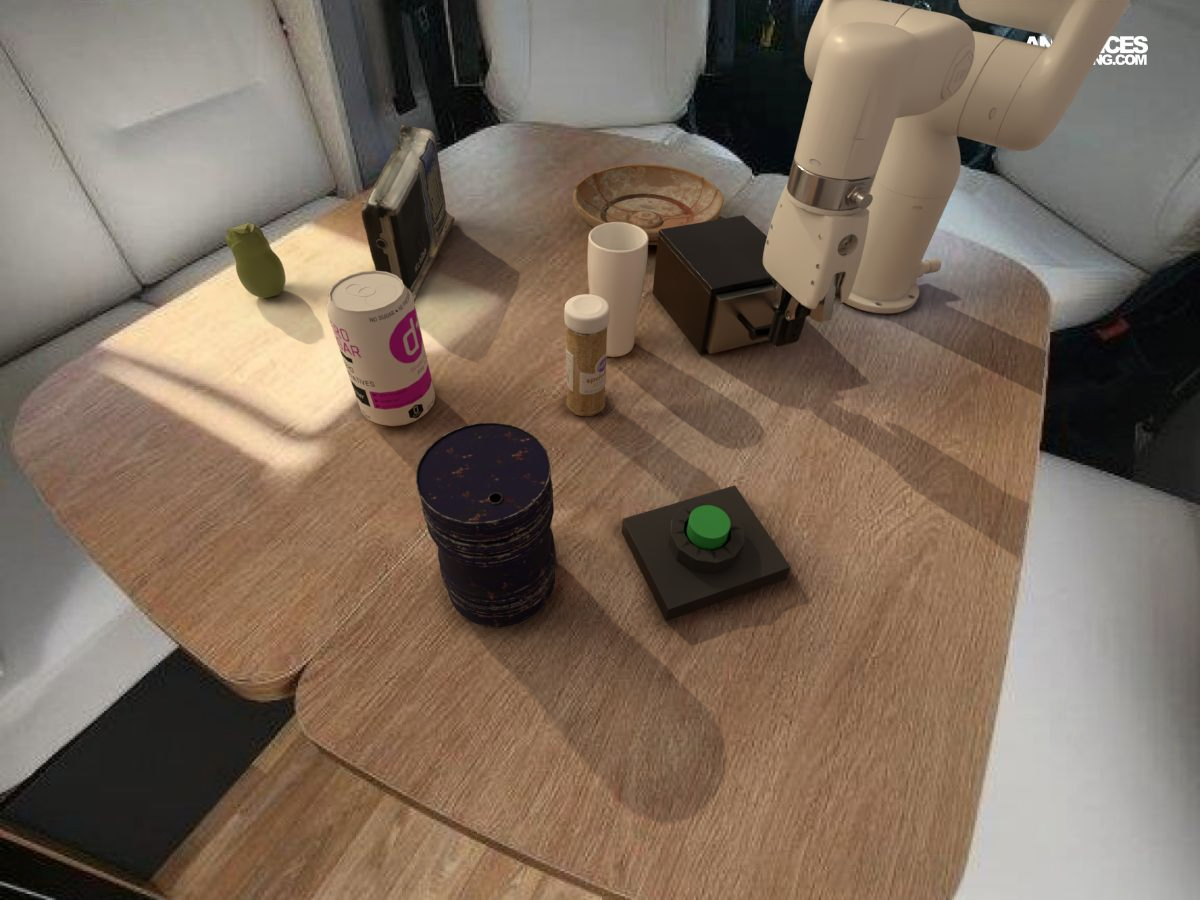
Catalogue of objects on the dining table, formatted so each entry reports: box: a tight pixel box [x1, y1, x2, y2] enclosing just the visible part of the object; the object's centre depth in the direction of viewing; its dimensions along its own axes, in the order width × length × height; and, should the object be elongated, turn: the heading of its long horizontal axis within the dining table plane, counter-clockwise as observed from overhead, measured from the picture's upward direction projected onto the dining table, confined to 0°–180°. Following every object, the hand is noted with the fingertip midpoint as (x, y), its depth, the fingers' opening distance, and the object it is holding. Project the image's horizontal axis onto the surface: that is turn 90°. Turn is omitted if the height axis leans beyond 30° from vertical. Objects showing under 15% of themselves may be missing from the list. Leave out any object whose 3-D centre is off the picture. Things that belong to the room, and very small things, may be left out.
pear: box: [225, 221, 287, 299], centre depth 82 cm, size 6×5×10 cm
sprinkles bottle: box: [563, 293, 610, 417], centre depth 67 cm, size 5×5×13 cm
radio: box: [360, 125, 456, 301], centre depth 87 cm, size 23×9×15 cm, turn 169°
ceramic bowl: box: [572, 163, 725, 246], centre depth 100 cm, size 23×24×5 cm
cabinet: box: [652, 214, 772, 356], centre depth 81 cm, size 15×13×10 cm
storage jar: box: [415, 421, 557, 629], centre depth 51 cm, size 10×10×15 cm
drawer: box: [706, 282, 777, 355], centre depth 79 cm, size 18×11×8 cm, turn 21°
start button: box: [687, 505, 731, 550], centre depth 55 cm, size 4×4×2 cm
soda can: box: [326, 270, 436, 427], centre depth 66 cm, size 8×8×15 cm
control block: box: [621, 484, 792, 623], centre depth 57 cm, size 12×10×4 cm
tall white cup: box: [586, 222, 649, 358], centre depth 74 cm, size 7×7×15 cm
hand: (782, 340), depth 72 cm, fingers closed
